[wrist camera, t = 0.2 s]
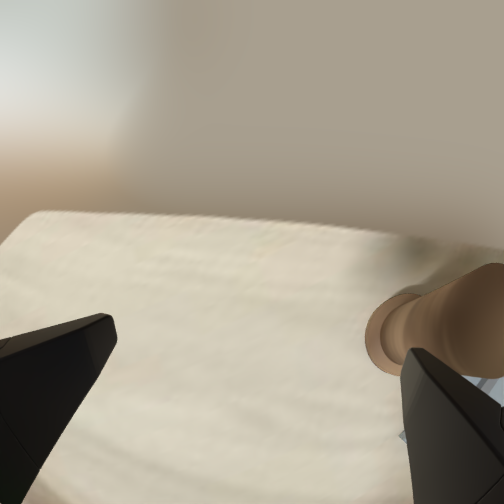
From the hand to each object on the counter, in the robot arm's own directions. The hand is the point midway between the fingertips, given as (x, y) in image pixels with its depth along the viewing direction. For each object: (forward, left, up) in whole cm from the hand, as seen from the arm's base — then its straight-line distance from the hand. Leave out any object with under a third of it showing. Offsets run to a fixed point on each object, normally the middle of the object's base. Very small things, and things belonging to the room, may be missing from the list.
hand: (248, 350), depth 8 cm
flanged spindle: (-4, -8, -14) cm, 17 cm away
